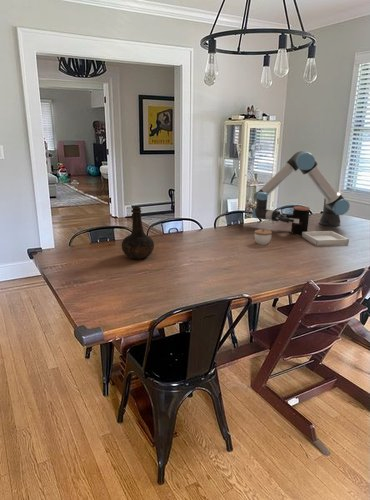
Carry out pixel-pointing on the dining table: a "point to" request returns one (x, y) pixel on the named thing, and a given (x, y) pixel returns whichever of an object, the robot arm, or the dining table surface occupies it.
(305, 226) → the coffee jar
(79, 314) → the dining table surface
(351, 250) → the dining table surface
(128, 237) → the glass bottle
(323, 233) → the tray
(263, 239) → the lidded jar
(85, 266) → the dining table surface
